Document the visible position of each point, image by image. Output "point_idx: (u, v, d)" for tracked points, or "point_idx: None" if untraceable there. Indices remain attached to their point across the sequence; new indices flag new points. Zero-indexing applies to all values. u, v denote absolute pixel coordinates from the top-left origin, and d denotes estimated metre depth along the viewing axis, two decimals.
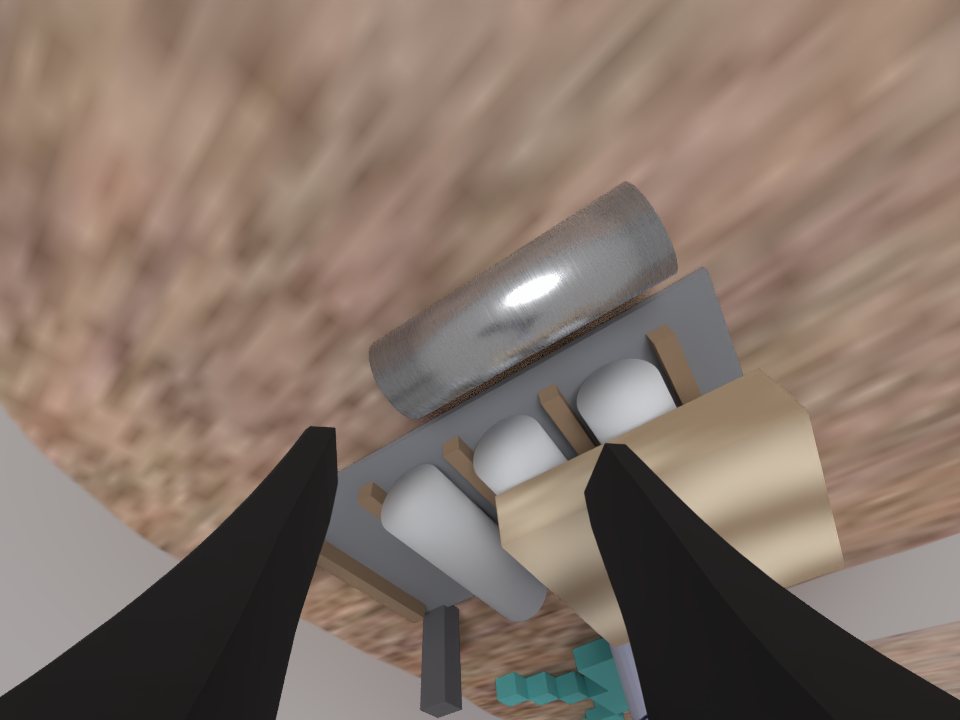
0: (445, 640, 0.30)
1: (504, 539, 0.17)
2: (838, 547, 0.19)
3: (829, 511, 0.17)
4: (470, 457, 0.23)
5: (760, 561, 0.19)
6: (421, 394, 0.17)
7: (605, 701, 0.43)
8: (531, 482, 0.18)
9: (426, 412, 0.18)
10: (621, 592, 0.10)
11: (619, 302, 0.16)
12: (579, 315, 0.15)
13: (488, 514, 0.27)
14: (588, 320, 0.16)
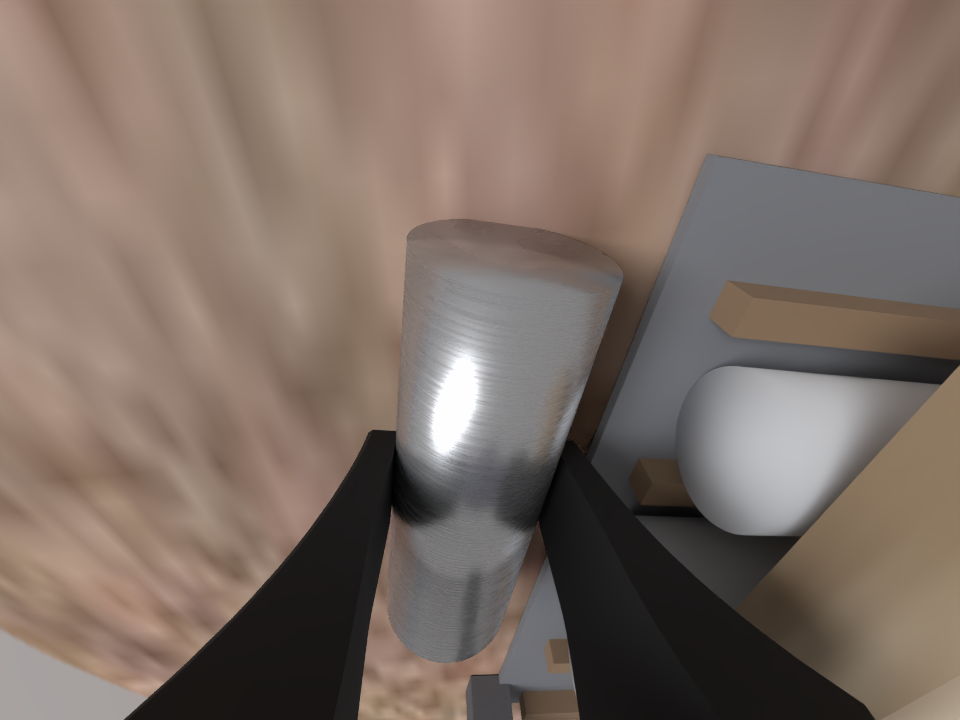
0: None
1: None
2: None
3: None
4: None
5: None
6: (455, 642, 0.12)
7: None
8: None
9: (490, 635, 0.13)
10: (562, 592, 0.10)
11: (567, 405, 0.08)
12: (523, 471, 0.08)
13: None
14: (551, 454, 0.08)
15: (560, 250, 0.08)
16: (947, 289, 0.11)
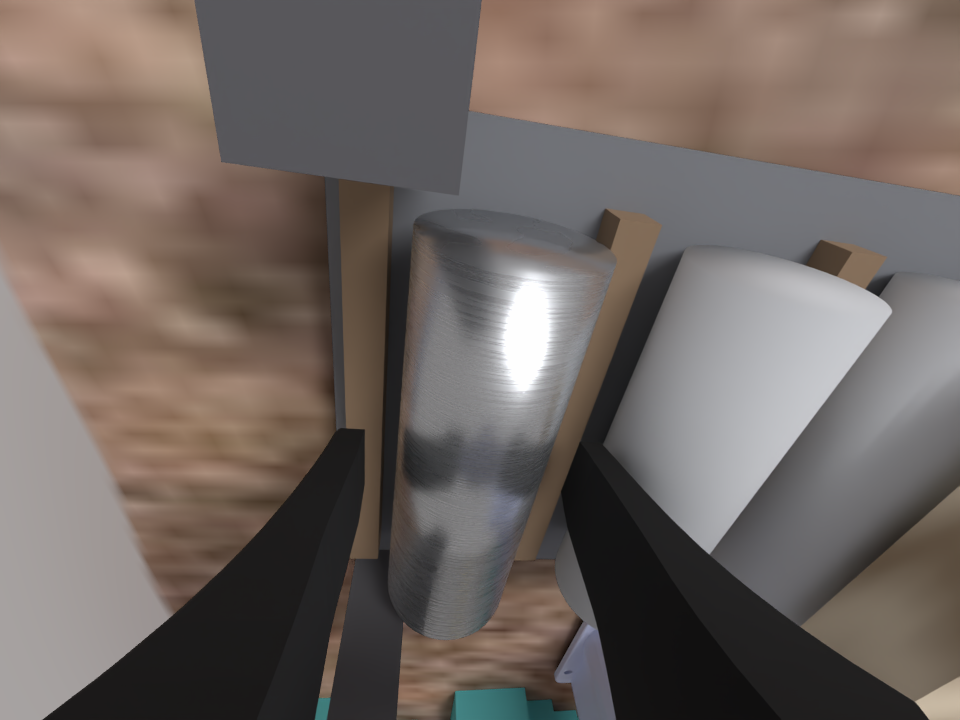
0: None
1: None
2: None
3: None
4: None
5: None
6: (455, 619, 0.12)
7: None
8: None
9: (489, 613, 0.13)
10: (593, 592, 0.10)
11: (564, 383, 0.08)
12: (523, 447, 0.09)
13: None
14: (549, 431, 0.09)
15: (557, 238, 0.09)
16: None
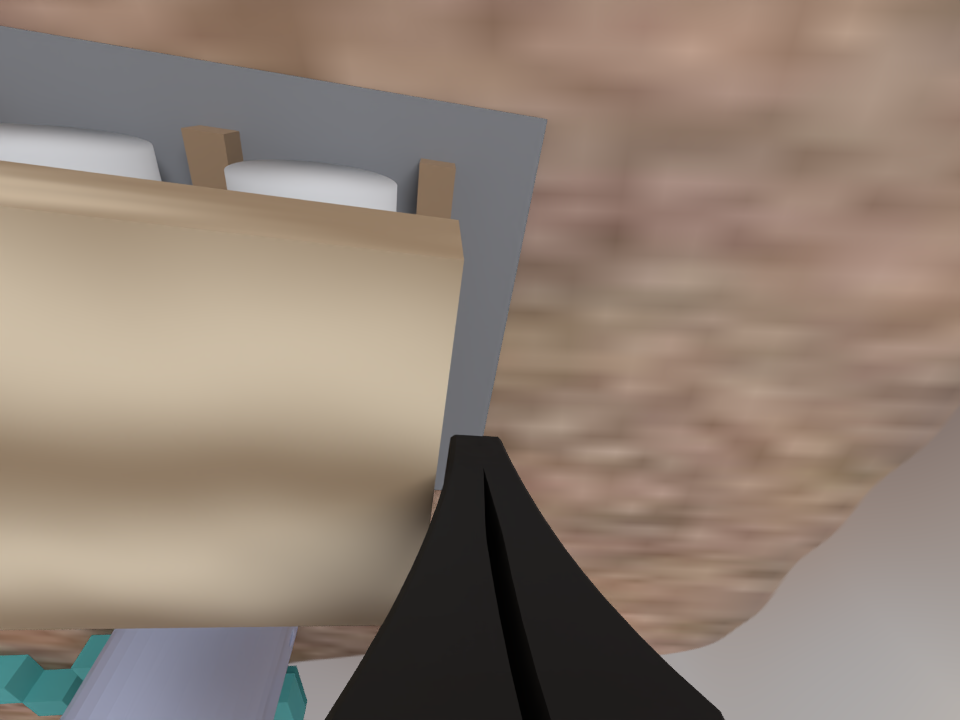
0: None
1: None
2: None
3: (426, 519, 0.10)
4: None
5: (296, 562, 0.11)
6: None
7: None
8: None
9: None
10: None
11: None
12: None
13: None
14: None
15: None
16: None
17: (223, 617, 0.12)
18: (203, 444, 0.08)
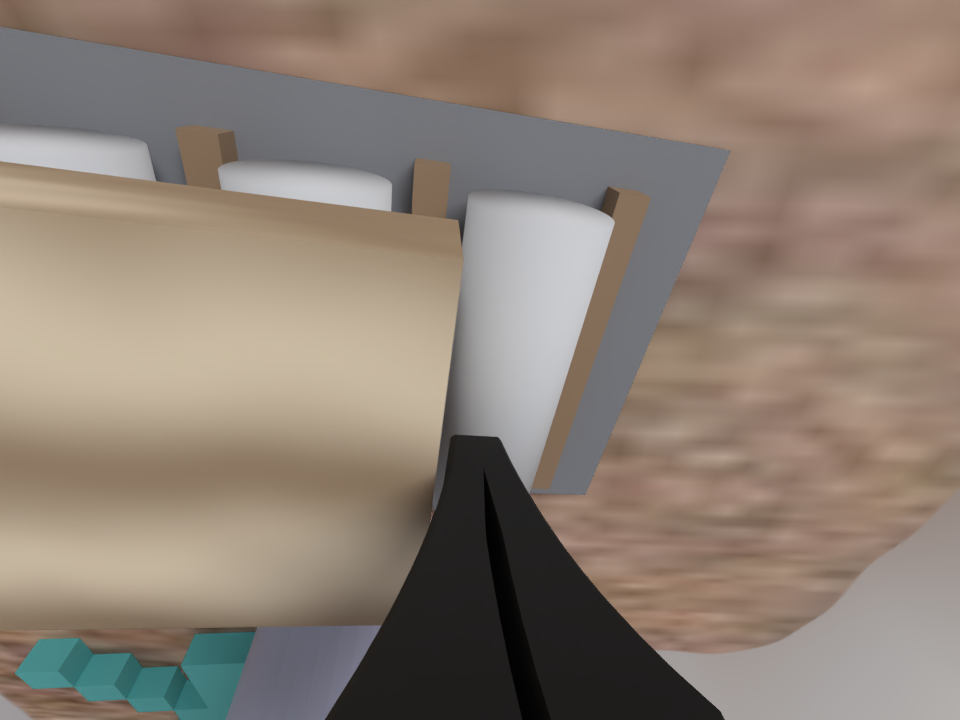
0: None
1: None
2: None
3: (426, 519, 0.10)
4: None
5: (297, 562, 0.11)
6: None
7: None
8: None
9: None
10: None
11: None
12: None
13: None
14: None
15: None
16: None
17: (223, 618, 0.12)
18: (203, 444, 0.08)
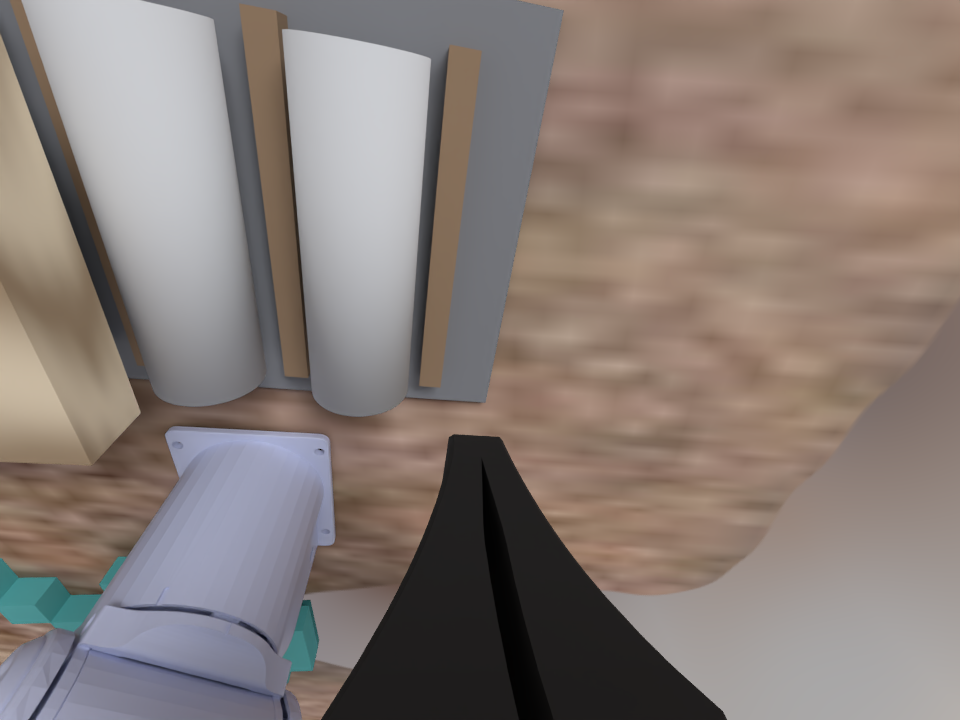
0: None
1: None
2: (63, 415, 0.12)
3: (11, 311, 0.10)
4: None
5: None
6: None
7: None
8: None
9: None
10: None
11: None
12: None
13: (65, 207, 0.15)
14: None
15: None
16: (468, 237, 0.17)
17: None
18: None
